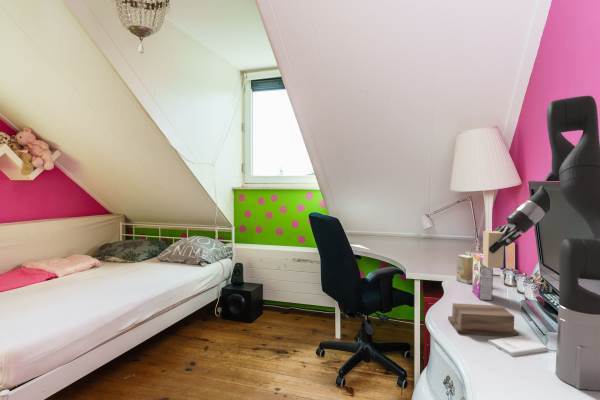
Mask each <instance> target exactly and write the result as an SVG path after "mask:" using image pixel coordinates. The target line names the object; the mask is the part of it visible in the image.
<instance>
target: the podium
mask: <svg viewBox="0 0 600 400" xmlns="http://www.w3.org/2000/svg"><path fill="white" fill-rule="evenodd" d="M451 308H452V310H451V311H452V313H451V314H452V315H450V316H449V315H448V316H447V317H448V318H447V320H448V322H449V323H450V325H452V327H453V328H454V330H455V331H456V333H457V334H458V335H472V336H473V335H474V336H487V337H501V338H502V337H503V338H508V337H515V336H520V334H519V332H518V331H517V330H516V329H515V316H514V315H513V314H512V313H511V312H509V311H508V310H507V309H506V308H505V307H503V306H502V305H495V304H494V305H493V304H492V305H491V304H490V305H489V304H473V303H453V302H452V307H451Z"/></svg>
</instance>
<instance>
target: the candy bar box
mask: <svg viewBox="0 0 600 400" xmlns="http://www.w3.org/2000/svg"><path fill="white" fill-rule="evenodd" d="M472 257H473V282H472V283H471V284H472V286H471V287H472V288H471V289H472V290H471V291H472V293H473V294H474V295H475V296H476V297H477V298H478V300H481V301H493V288H494V286H493V283H494V268H488V267H486V266H484V265H483V264H482V261H483V253H473V254H472Z"/></svg>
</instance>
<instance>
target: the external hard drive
mask: <svg viewBox="0 0 600 400" xmlns="http://www.w3.org/2000/svg"><path fill="white" fill-rule="evenodd" d="M487 344H490V345H491V346H493V347H495V348H497V349H499V350H500V351H502V352H503V353H505V354H507V355H509V356H510V357H515V356H520V355H528V354H534V353H535V354H536V353H542V352H547V351H548V350H549V348H548V346H546V345H544V344H542V343H540V342H538V341H536V340H534V339H532V338H530V337H527V336H526V335H524V334H523V335H519V336H515V337H503V338H502V337H500V338H495V339H488V340H487Z"/></svg>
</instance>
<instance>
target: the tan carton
mask: <svg viewBox="0 0 600 400" xmlns="http://www.w3.org/2000/svg"><path fill="white" fill-rule="evenodd" d="M502 234H503V233H502V232H498V231H494V230H492V231H491V230H483V234H482V235H483V236H482V237H483V238H482V246H483V247H482V254H483V261H482V264H483V265H484V266H486V267H488V268H493V269H494V268H495V269H504V259H505V258H504V255H505V246H503V247H502V246H501V248H499V249H498V250H497V251H496V252H495V253H491V252H490V251H489V250H488V249H489V248H490V247H491V246H492V245H493V244H494V243H495V242H497V240H498V239H499V238H500V237H501V235H502Z"/></svg>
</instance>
